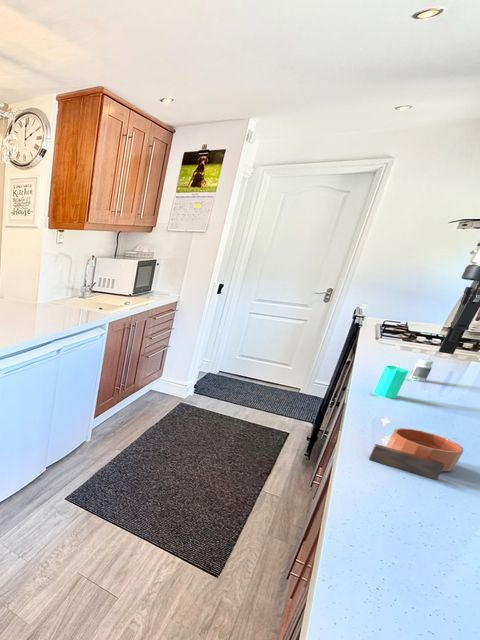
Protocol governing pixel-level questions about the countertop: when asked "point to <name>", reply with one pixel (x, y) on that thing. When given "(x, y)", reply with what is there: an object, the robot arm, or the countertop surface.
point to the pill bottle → (421, 370)
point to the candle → (390, 381)
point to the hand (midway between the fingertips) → (445, 352)
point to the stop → (406, 461)
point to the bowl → (426, 446)
